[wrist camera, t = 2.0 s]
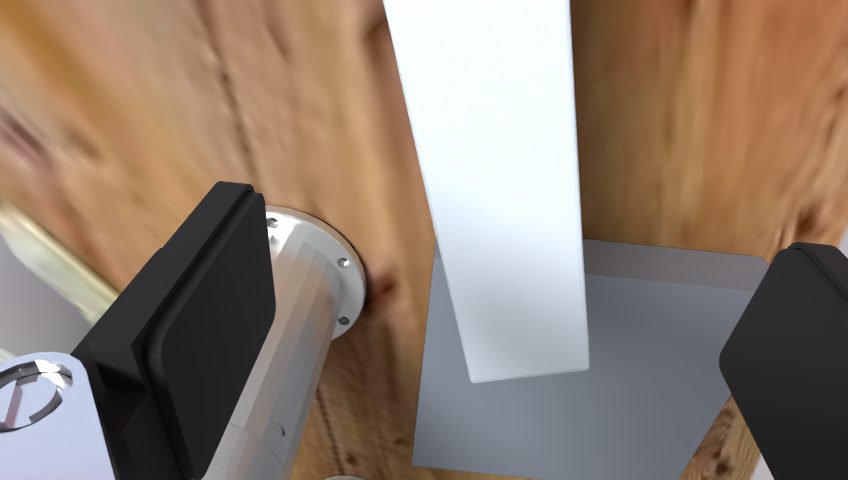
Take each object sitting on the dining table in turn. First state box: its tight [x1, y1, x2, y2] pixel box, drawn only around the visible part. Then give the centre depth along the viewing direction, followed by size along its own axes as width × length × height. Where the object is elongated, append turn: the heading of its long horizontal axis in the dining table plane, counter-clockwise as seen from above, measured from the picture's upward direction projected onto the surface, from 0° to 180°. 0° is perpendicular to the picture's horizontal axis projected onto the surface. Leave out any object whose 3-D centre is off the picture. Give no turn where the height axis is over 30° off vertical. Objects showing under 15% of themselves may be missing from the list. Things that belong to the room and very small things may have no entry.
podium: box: [411, 238, 769, 480], centre depth 40 cm, size 22×22×4 cm
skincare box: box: [383, 0, 589, 383], centre depth 22 cm, size 21×5×16 cm, turn 12°
